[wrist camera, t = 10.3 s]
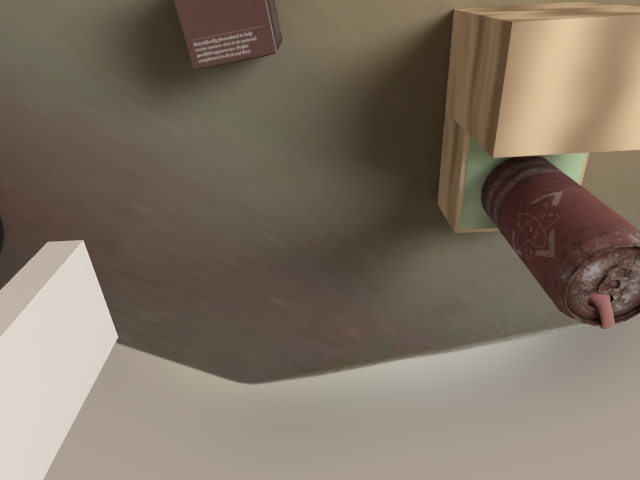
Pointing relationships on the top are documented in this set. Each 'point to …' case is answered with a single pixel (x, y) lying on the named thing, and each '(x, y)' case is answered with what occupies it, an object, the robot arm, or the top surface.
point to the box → (228, 30)
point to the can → (566, 240)
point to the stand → (535, 94)
